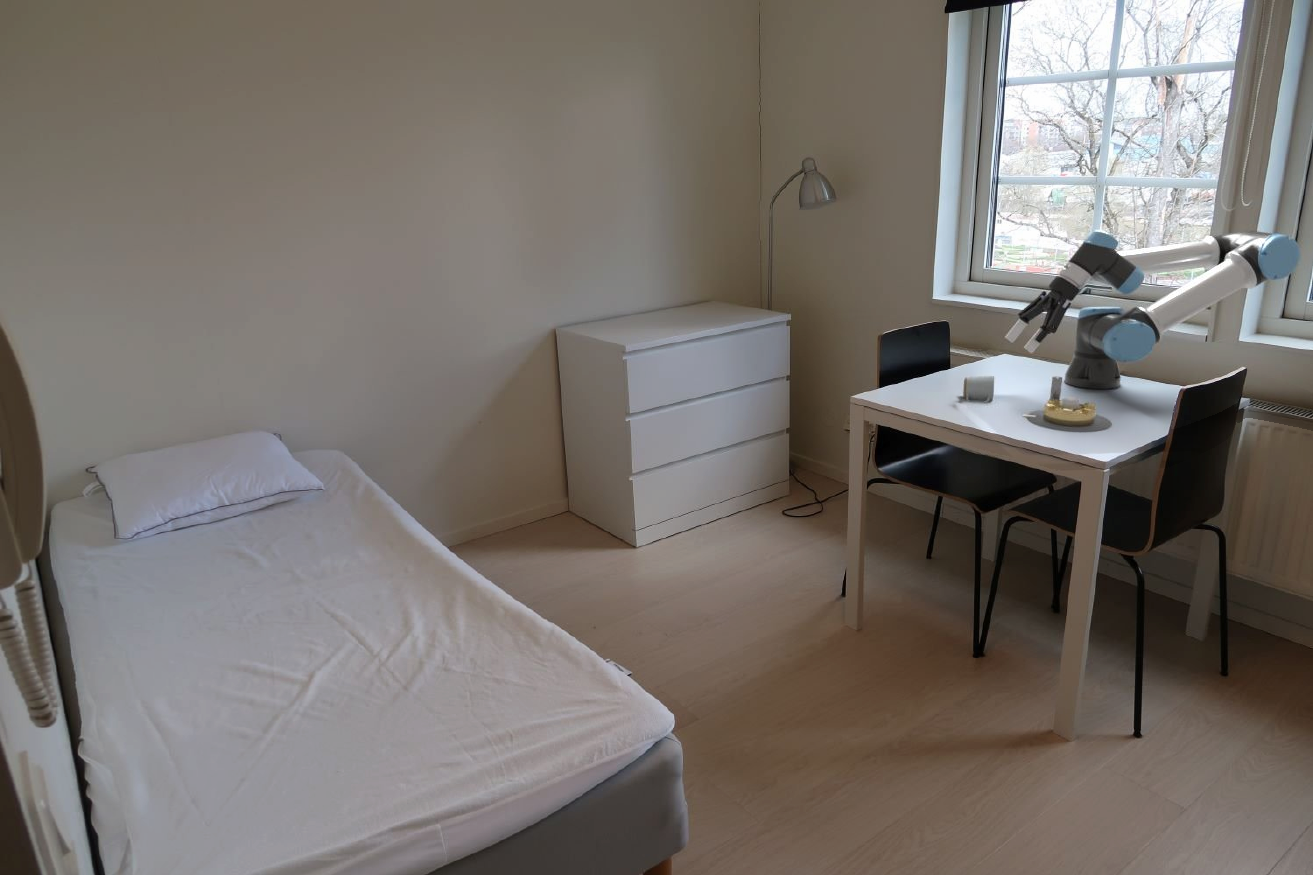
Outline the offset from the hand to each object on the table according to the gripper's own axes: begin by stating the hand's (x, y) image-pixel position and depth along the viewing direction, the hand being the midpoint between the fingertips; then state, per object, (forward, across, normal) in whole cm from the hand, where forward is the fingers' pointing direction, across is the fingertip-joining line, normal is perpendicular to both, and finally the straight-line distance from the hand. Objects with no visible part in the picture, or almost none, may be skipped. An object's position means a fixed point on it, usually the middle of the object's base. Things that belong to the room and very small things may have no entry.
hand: (1017, 345), depth 247 cm
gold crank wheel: (+9, +26, +11) cm, 29 cm away
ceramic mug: (+19, +4, 0) cm, 20 cm away
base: (+10, +28, +12) cm, 32 cm away
